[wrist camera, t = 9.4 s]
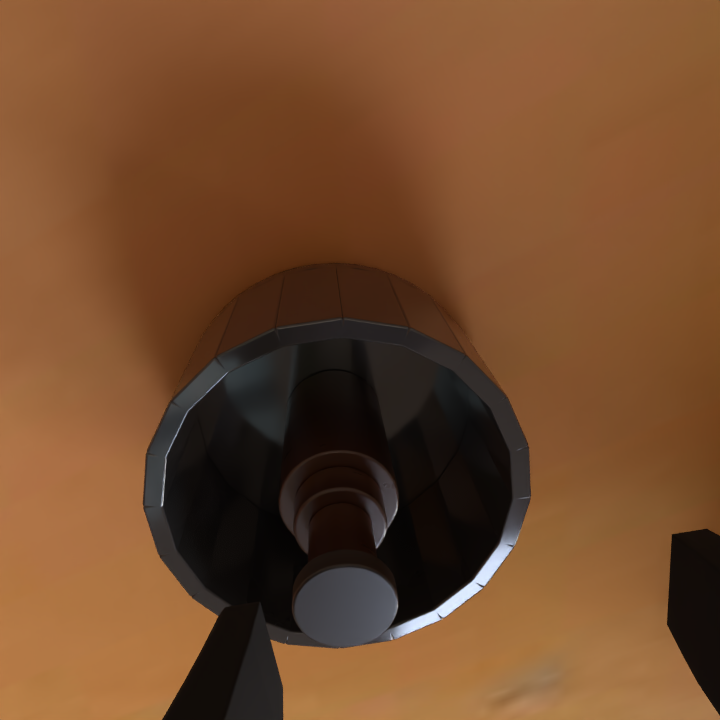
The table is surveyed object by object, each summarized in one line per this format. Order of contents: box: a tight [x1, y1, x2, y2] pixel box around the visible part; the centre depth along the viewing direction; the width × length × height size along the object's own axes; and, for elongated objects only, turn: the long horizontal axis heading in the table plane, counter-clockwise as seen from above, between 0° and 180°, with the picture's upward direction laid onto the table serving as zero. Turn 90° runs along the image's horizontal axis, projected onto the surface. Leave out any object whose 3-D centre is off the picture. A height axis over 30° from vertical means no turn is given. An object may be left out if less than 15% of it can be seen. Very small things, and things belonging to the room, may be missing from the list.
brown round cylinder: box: [143, 263, 531, 649], centre depth 18 cm, size 10×10×6 cm
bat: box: [278, 370, 399, 647], centre depth 16 cm, size 3×3×8 cm
